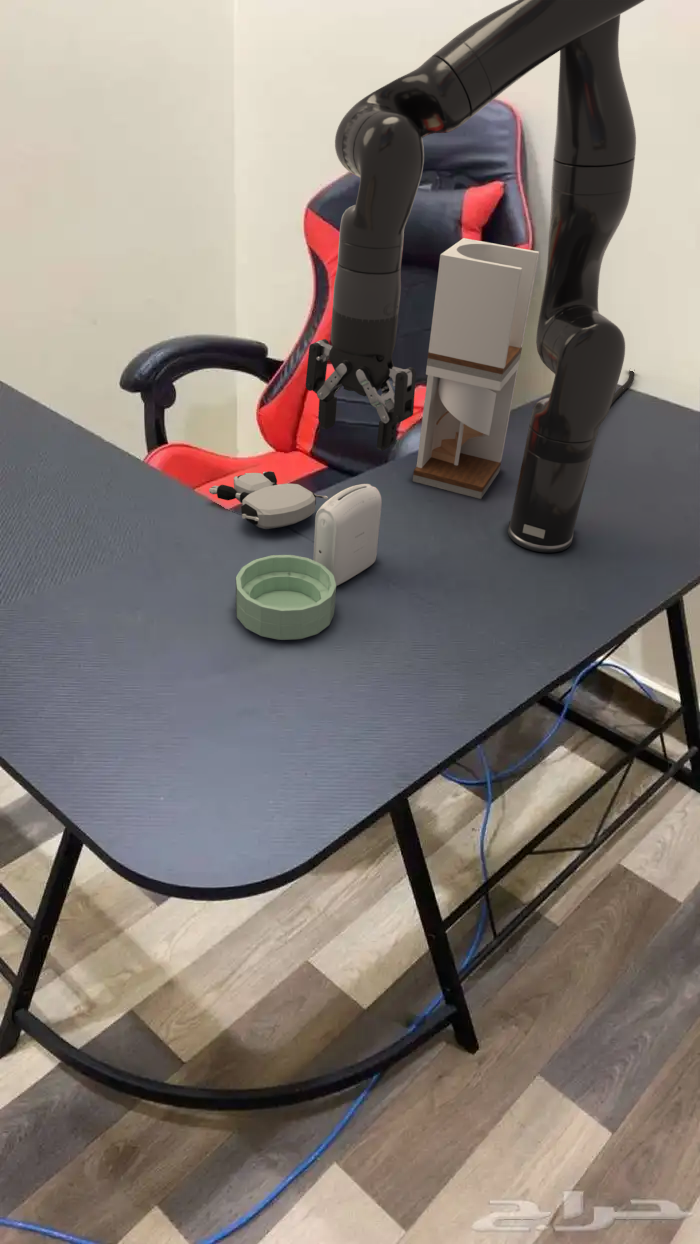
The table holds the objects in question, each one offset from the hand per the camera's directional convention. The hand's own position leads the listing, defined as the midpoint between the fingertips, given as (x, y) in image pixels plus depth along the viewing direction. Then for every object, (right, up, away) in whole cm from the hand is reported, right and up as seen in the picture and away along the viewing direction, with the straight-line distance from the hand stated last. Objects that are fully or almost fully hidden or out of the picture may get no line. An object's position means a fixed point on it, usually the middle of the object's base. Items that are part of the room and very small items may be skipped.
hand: (355, 437), depth 117 cm
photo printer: (-1, -16, +12) cm, 20 cm away
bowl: (-9, -22, +3) cm, 24 cm away
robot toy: (-13, -7, +23) cm, 27 cm away
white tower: (+17, +1, +37) cm, 40 cm away
